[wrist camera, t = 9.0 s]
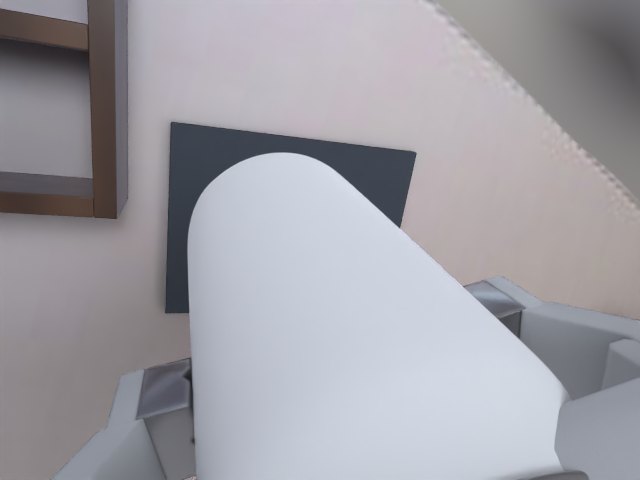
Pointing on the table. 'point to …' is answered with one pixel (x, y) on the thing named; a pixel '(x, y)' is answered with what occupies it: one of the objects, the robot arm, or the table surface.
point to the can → (348, 345)
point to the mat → (235, 146)
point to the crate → (106, 115)
